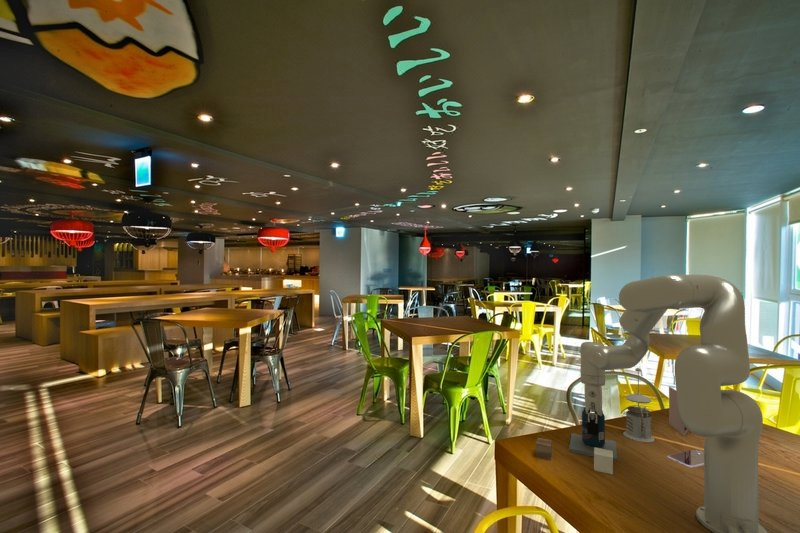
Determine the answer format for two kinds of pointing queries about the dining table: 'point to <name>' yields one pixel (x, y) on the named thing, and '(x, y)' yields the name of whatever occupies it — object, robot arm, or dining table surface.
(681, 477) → the dining table surface
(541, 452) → the walnut block
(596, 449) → the off-white block
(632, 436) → the french press
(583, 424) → the soda can
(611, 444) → the mat
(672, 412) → the greeting card
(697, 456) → the mobile phone
